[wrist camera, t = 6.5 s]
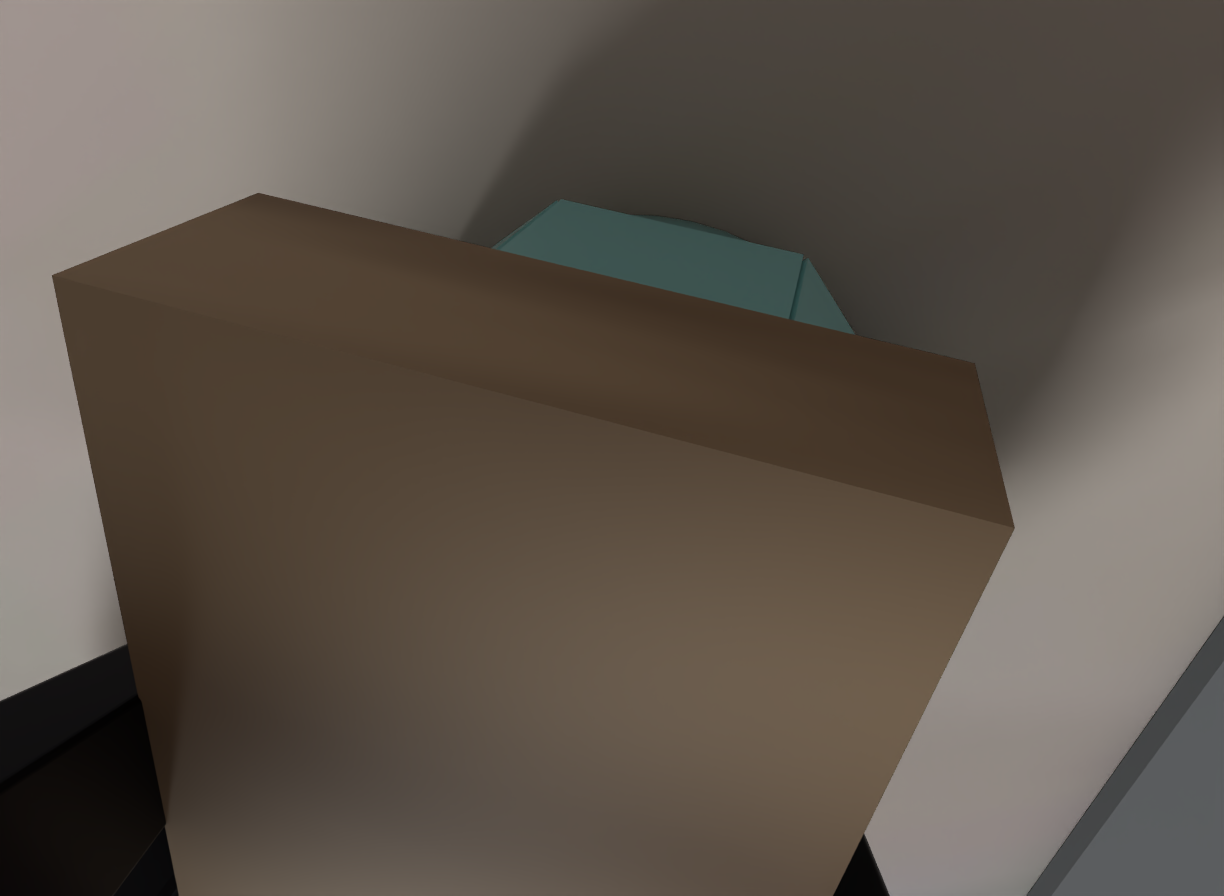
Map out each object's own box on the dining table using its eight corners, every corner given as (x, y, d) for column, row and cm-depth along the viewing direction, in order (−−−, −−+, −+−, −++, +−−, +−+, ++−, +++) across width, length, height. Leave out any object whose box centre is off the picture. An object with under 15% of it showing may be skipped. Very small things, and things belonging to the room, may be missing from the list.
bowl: (820, 690, 16) (806, 892, 13) (411, 567, 18) (296, 723, 14) (986, 273, 12) (1032, 409, 9) (425, 148, 13) (263, 221, 10)
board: (717, 987, 12) (687, 1190, 10) (302, 842, 13) (200, 1003, 11) (974, 362, 7) (1014, 528, 5) (258, 192, 8) (51, 275, 6)
